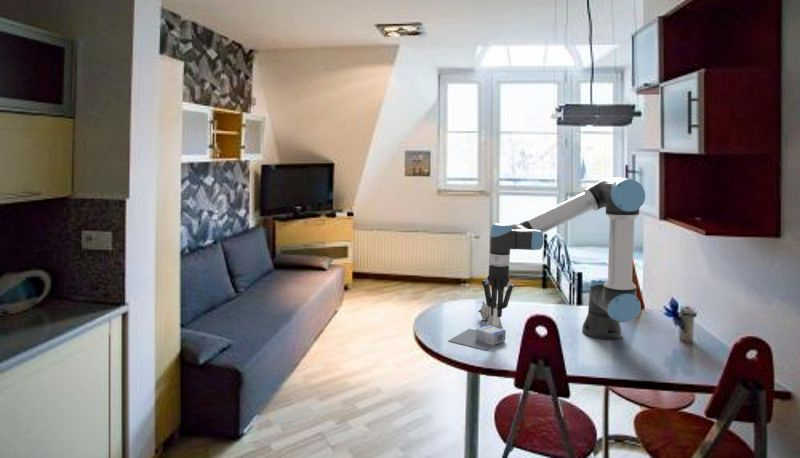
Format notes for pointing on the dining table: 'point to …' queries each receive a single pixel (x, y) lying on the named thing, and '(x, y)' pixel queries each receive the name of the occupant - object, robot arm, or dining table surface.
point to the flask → (490, 322)
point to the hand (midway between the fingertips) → (495, 324)
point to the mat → (470, 340)
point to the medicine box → (490, 335)
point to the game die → (485, 311)
